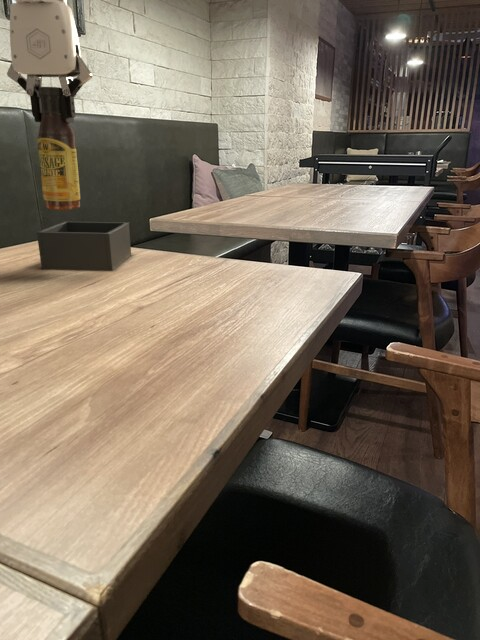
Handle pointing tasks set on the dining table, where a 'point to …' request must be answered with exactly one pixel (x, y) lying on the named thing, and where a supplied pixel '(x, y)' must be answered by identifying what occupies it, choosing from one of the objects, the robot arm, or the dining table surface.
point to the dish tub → (84, 245)
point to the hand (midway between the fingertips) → (54, 121)
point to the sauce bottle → (57, 154)
